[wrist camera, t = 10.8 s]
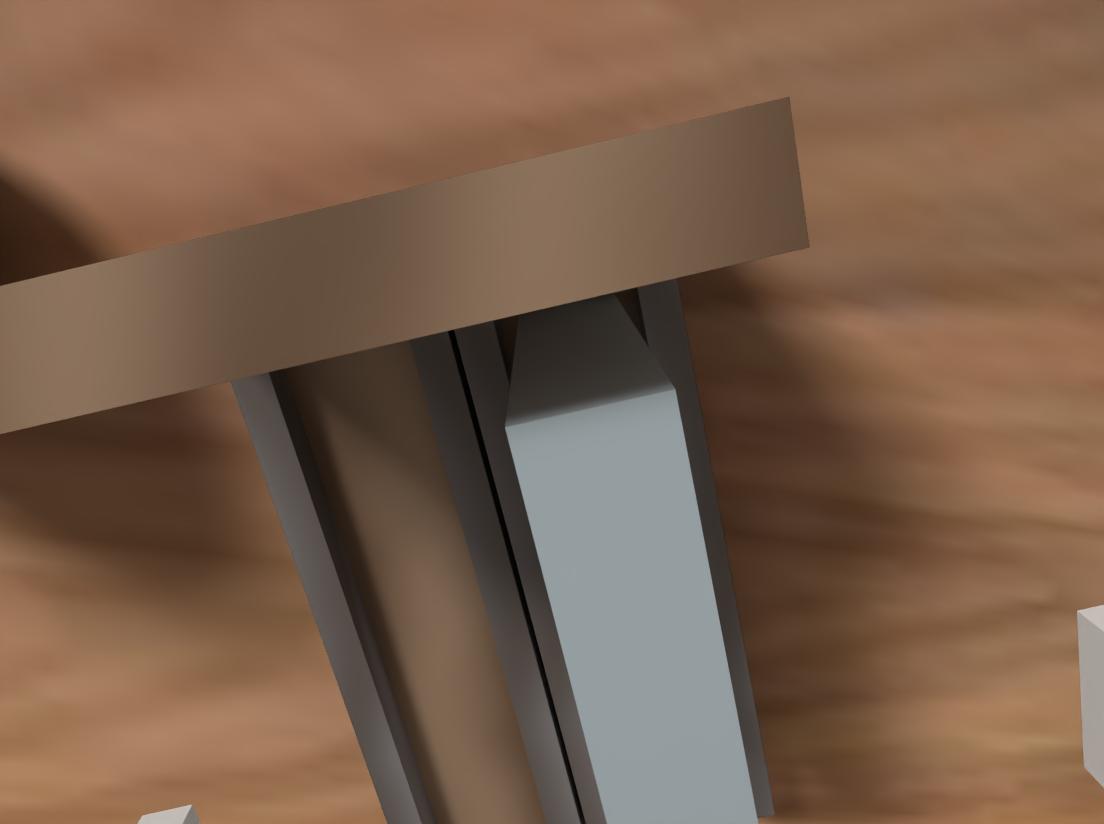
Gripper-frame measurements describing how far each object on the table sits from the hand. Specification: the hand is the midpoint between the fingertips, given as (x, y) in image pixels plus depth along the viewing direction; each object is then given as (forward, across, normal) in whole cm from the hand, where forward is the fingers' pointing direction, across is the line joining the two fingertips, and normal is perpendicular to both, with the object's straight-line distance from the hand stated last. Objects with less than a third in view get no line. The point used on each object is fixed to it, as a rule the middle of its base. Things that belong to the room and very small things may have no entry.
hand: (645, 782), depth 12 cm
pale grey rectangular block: (+16, +1, 0) cm, 16 cm away
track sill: (+16, -3, -3) cm, 17 cm away
